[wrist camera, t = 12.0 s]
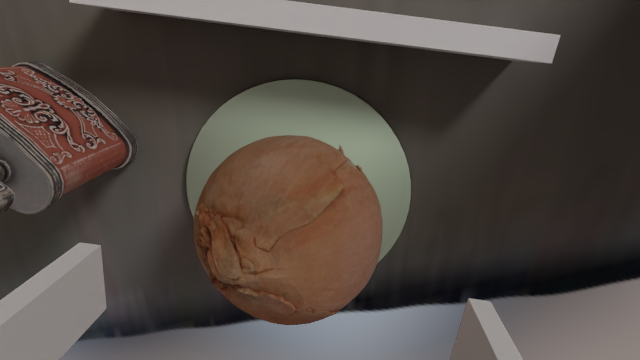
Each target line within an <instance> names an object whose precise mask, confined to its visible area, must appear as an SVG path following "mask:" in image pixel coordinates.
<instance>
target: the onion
mask: <svg viewBox="0 0 640 360" xmlns="http://www.w3.org/2000/svg"><path fill="white" fill-rule="evenodd" d="M194 214H195V215H194V225H193V228H194V242H195V247H196V252H197V255H198V257H199V259H200V262H201V264H202V266H203V268H204V270H205V271H206V273H207V274H208V276H209V278H210V279H211V283H212V284H213V285H214V286H215V287H216V288H217V290H219V291H220V292H221V293H222V294H223V295H224V296H225V297H226V298H227V299H228V300H229V301H230V302H231V303H233V304H234V305H235V306H236V307H238V308H239V309H241V310H243V311H245V312H246V313H248V314H250V315H252V316H253V317H256V318H259V319H262V320H265V321H268V322H272V323H276V324H283V325H298V324H307V323H311V322H315V321H318V320H321V319H324V318H326V317H329V316H331V315H333V314H336V313H337V312H338V311H339V310H340V309H342V308H343V307H344V306H346V305H347V304H348V303H349V302H350V301H351V300H353V299H354V298H355V297H356V296H357V295H358V294H359V293H360V292H361V291H362V289H363V288H364V287H365V286H366V285H367V283H368V281H369V279H370V278H371V276H372V274H373V272H374V270H375V268H376V265H377V262H378V259H379V255H380V251H381V244H382V225H383V221H382V214H381V207H380V203H379V200H378V197H377V195H376V192H375V190H374V188H373V186H372V185H371V184H370V182H369V181H368V179H367V177H366V175H365V174H364V173H363V171H362V167H359V166H358V165H357V166H355V165H354V164H353V163H352V162H351V160H350V159H349V158H347V157H346V156H345V155H344V152H343V149H342V148H341V146H340V145H339V149H338V150H337V149H336V148H334V147H333V146H331V145H329V144H327V143H325V142H323V141H320V140H317V139H315V138H312V137H308V136H296V135H283V136H272V137H267V138H263V139H260V140H257V141H254V142H252V143H250V144H248V145H246V146H244V147H242V148H240V149H238V150H237V151H235V152H234V153H232V154H231V155H229V156H228V157H227V158H226V159H225V160H224V161H223V162H222V163H221V164H220V165H219V166H218V167H217V168H216V169H215V170H214V171H213V172H212V174H211V175H210V177H209V179H208V180H207V182H206V184H205V186H204V188H203V190H202V192H201V195H200V197H199V200H198V203H197V206H196V210H195V213H194Z"/></svg>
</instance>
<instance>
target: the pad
mask: <svg viewBox="0 0 640 360" xmlns="http://www.w3.org/2000/svg"><path fill="white" fill-rule="evenodd" d="M283 135H296V136H308V137H312V138H315V139H317V140H320V141H323V142H325V143H327V144H329V145H331V146H333V147H334V148H336V149H337V150H338V149H339V145H340V146H341V148H342V149H343V152H344V155H345V156H346V157H347V158H349V159H350V160H351V162H352V163H353V164H354V165H355V166H357V165H358V166H359V167H362V171H363V173H364V174H365V175H366V177H367V179H368V181H369V182H370V184H371V185H372V186H373V188H374V190H375V192H376V195H377V197H378V200H379V203H380V207H381V214H382V221H383V225H382V244H381V251H380V255H379V259H378V262H379V261H380V260H381V259H382V258H383V257H384V256H385V255H386V254H387V253H388V251H389V250H390V249H391V248H392V247H393V245H394V243H395V242H396V240H397V239H398V237H399V235H400V233H401V231H402V229H403V227H404V224H405V222H406V218H407V215H408V211H409V205H410V199H411V180H410V173H409V167H408V164H407V160H406V157H405V154H404V151H403V149H402V147H401V145H400V143H399V140H398V139H397V137H396V136H395V134H394V133H393V131H392V129H391V128H390V126H389V125H388V124H387V123H386V121H385V120H384V119H383V118H382V117H381V116H380V114H378V113H377V112H376V111H375V110H374V109H373V108H372V107H371V106H370V105H368V104H367V103H366V102H364V101H363V100H361V99H360V98H358V97H357V96H355V95H353V94H351V93H349V92H347V91H345V90H343V89H341V88H339V87H336V86H333V85H330V84H327V83H322V82H317V81H312V80H300V79H290V80H278V81H274V82H269V83H264V84H261V85H259V86H256V87H253V88H250V89H248V90H246V91H244V92H242V93H240V94H238V95H237V96H235V97H233V98H232V99H230V100H229V101H228V102H226V103H225V104H224V105H222V106H221V107H220V108H219V109H218V110H217V111H216V112H215V113H214V114H213V115H212V116H211V117H210V118H209V120H208V121H207V122H206V124H205V125H204V126H203V127H202V129H201V131H200V133H199V135H198V136H197V138H196V140H195V142H194V145H193V148H192V150H191V153H190V157H189V162H188V166H187V178H186V184H187V196H188V201H189V206H190V210H191V213H192V215H193V218H194V215H195V214H194V213H195V210H196V206H197V203H198V200H199V197H200V195H201V192H202V190H203V188H204V186H205V184H206V182H207V180H208V179H209V177H210V175H211V174H212V172H213V171H214V170H215V169H216V168H217V167H218V166H219V165H220V164H221V163H222V162H223V161H224V160H225V159H226V158H227V157H228V156H229V155H231V154H232V153H234V152H235V151H237V150H238V149H240V148H242V147H244V146H246V145H248V144H250V143H252V142H254V141H257V140H260V139H263V138H267V137H272V136H283ZM378 262H377V263H378Z"/></svg>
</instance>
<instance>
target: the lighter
mask: <svg viewBox="0 0 640 360" xmlns="http://www.w3.org/2000/svg"><path fill="white" fill-rule="evenodd" d="M137 153H138V143H137V139H136V137H135V136H134V134H133V133H132V132H131V131H130V130H129V129H128V128H127V127H126V125H125V124H124V123H123V122H122V121H121V120H120V119H119V118H118V117H117V116H116V115H115V114H114V113H113V112H112V111H111V110H110V109H109V108H107V107H106V106H105V105H104V104H103V103H102V102H101V101H99V100H98V99H97V98H96V97H95V96H94V95H93V94H91V93H90V92H88V91H87V90H85V89H84V88H82V87H81V86H80V85H78V84H77V83H75V82H74V81H72V80H71V79H69V78H68V77H66V76H64V75H62V74H61V73H59V72H57V71H55V70H53V69H51V68H50V67H48V66H46V65H44V64H42V63H39V62H26V63H17V64H15V65H13V66H12V67H0V213H2V212H4V211H6V210H8V209H9V208H11V209H13V210H15V211H17V212H21V213H24V214H35V213H38V212H40V211H42V210H44V209H46V208H48V207H50V206H52V205H53V204H55V203H56V202H57V201H58V200H59V199H60V198H61V196H62V195H64V194H66V193H68V192H70V191H71V190H73V189H75V188H77V187H79V186H81V185H83V184H85V183H87V182H88V181H90V180H92V179H94V178H96V177H98V176H100V175H102V174H104V173H105V172H107V171H109V170H111V169H119V168H121V167H123V166H125V165H127V164H129V163H130V162H131V161H132V160H134V159H135V157H136V155H137Z"/></svg>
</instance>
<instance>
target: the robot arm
mask: <svg viewBox="0 0 640 360" xmlns="http://www.w3.org/2000/svg"><path fill="white" fill-rule="evenodd" d="M105 310H106V299H105V287H104V276H103V265H102V254H101V245H94V244H87V243H78V244H77V245H76V246H74V247H73V248H71V249H70V250H69V251H67V252H66V253H65V254H63V255H62V256H60V257H59V258H58V259H56V260H55V261H54V262H52V263H51V264H49V265H48V266H47V267H45V268H44V269H43V270H41V271H40V272H38V273H37V274H36V275H34V276H33V277H32V278H30V279H29V280H27V281H26V282H25V283H23V284H22V285H21V286H19V287H18V288H16V289H15V290H14V291H12V292H11V293H10V294H8V295H7V296H5V297H4V298H3V299H1V300H0V360H59V359H60V358H61V357H62V356H63V355H64V354H65V353H66V352H67V351H68V349H69V348H70V347H71V346H72V345H73V344H74V343H75V342H76V341H77V340H78V339H79V338H80V337H81V335H82V334H83V333H84V332H85V331H86V330H87V329H88V328H89V327H90V326H91V325H92V324H93V322H94V321H95V320H96V319H97V318H98V317H99V316H100V315H101V314H102V313H103V312H104V311H105ZM450 360H523V358H522V357H521V355H520V353H519V351H518V350H517V348H516V346H515V344H514V342H513V341H512V339H511V337H510V335H509V333H508V332H507V330H506V329H505V327H504V325H503V323H502V321H501V319H500V317H499V316H498V314H497V312H496V310H495V309H494V307H493V305H492V303H491V301H485V300H478V299H471V298H468V301H467V304H466V308H465V311H464V314H463V318H462V321H461V324H460V328H459V331H458V334H457V337H456V341H455V344H454V348H453V351H452V354H451V357H450Z"/></svg>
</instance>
